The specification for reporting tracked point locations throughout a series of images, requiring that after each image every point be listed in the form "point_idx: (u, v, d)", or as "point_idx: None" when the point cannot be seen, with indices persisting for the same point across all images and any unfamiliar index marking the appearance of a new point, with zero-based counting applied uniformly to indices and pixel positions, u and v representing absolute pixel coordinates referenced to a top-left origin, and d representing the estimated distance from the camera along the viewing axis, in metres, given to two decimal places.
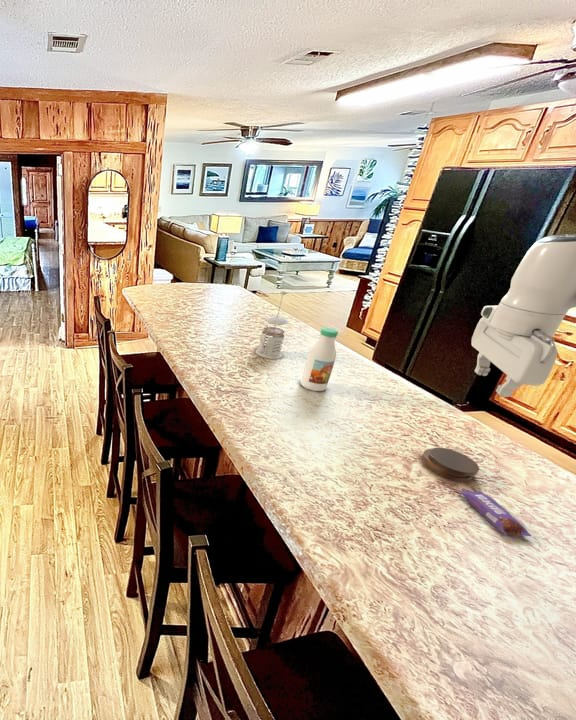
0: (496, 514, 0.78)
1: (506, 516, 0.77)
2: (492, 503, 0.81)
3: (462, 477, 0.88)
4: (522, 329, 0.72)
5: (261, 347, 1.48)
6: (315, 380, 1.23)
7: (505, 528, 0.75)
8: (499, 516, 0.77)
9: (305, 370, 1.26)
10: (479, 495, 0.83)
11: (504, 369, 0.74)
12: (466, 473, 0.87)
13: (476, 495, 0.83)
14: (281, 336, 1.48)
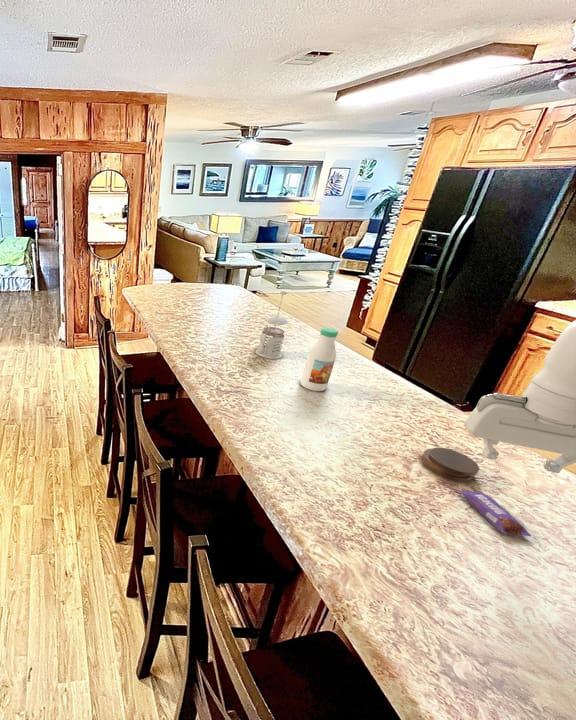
0: (496, 514, 0.78)
1: (506, 516, 0.77)
2: (492, 503, 0.81)
3: (462, 477, 0.88)
4: (522, 395, 0.72)
5: (261, 347, 1.48)
6: (315, 380, 1.23)
7: (505, 528, 0.75)
8: (499, 516, 0.77)
9: (305, 370, 1.26)
10: (479, 495, 0.83)
11: None
12: (466, 473, 0.87)
13: (476, 495, 0.83)
14: (281, 336, 1.48)
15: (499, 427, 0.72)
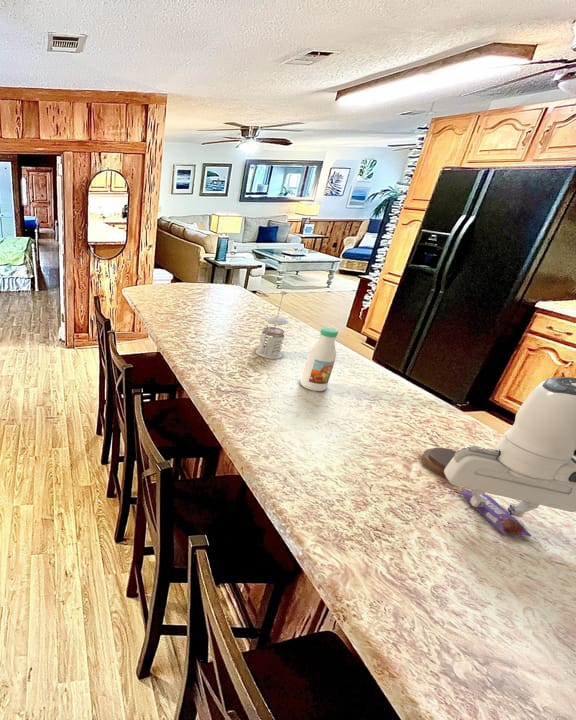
0: (496, 514, 0.78)
1: (506, 516, 0.77)
2: (492, 503, 0.81)
3: None
4: (496, 448, 0.76)
5: (261, 347, 1.48)
6: (315, 380, 1.23)
7: (505, 528, 0.75)
8: (499, 516, 0.77)
9: (305, 370, 1.26)
10: None
11: None
12: None
13: None
14: (281, 336, 1.48)
15: (474, 478, 0.77)
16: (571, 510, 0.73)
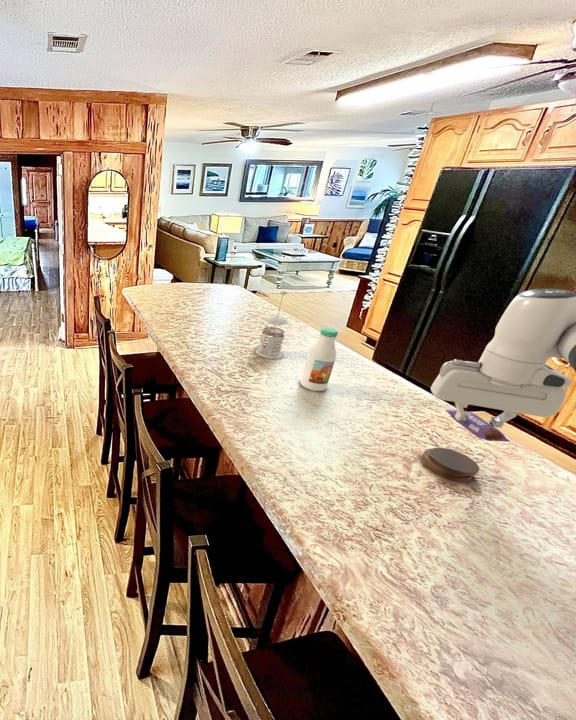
0: (478, 425, 0.84)
1: (487, 426, 0.83)
2: (475, 417, 0.86)
3: (462, 477, 0.88)
4: (478, 362, 0.82)
5: (261, 347, 1.48)
6: (315, 380, 1.23)
7: (486, 435, 0.81)
8: (481, 426, 0.83)
9: (305, 370, 1.26)
10: None
11: None
12: (466, 473, 0.87)
13: None
14: (281, 336, 1.48)
15: (458, 390, 0.83)
16: (546, 415, 0.79)
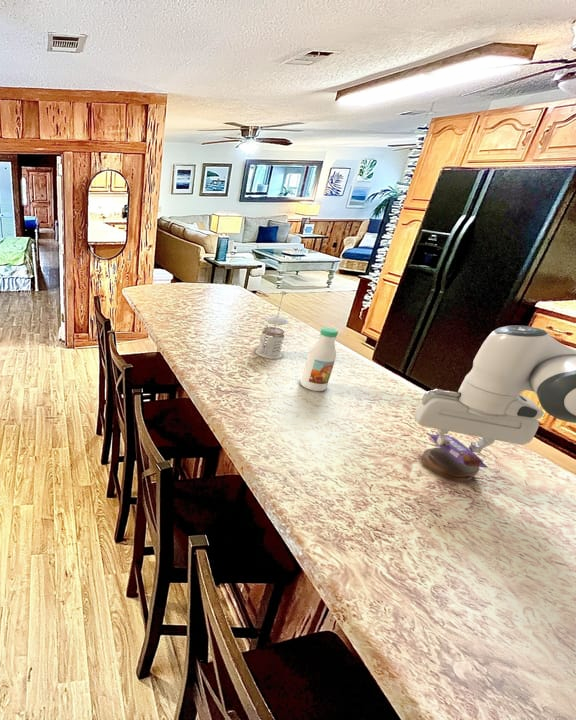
0: (458, 450, 0.89)
1: (467, 452, 0.88)
2: (456, 442, 0.91)
3: (462, 477, 0.88)
4: (458, 391, 0.87)
5: (261, 347, 1.48)
6: (315, 380, 1.23)
7: (465, 461, 0.86)
8: (461, 452, 0.88)
9: (305, 370, 1.26)
10: None
11: None
12: (466, 473, 0.87)
13: None
14: (281, 336, 1.48)
15: (439, 417, 0.87)
16: (521, 443, 0.83)
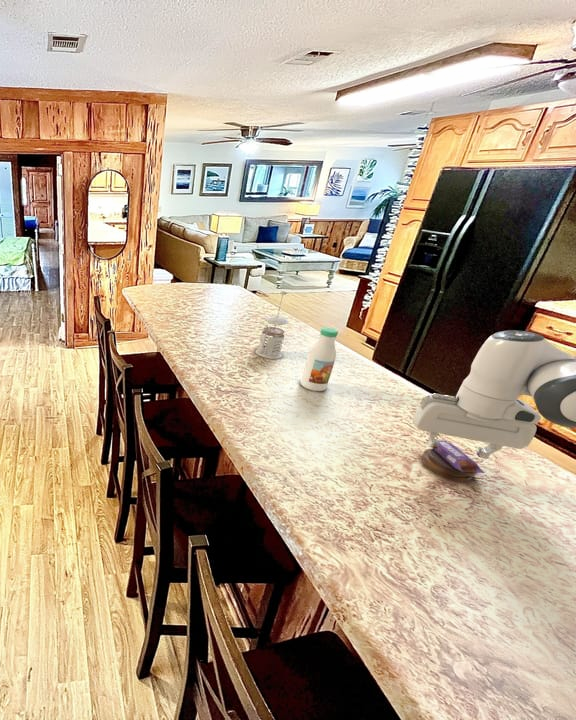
0: (455, 456, 0.89)
1: (464, 458, 0.89)
2: (453, 448, 0.92)
3: (462, 477, 0.88)
4: (456, 395, 0.87)
5: (261, 347, 1.48)
6: (315, 380, 1.23)
7: (462, 467, 0.87)
8: (458, 457, 0.89)
9: (305, 370, 1.26)
10: (442, 442, 0.94)
11: None
12: (466, 473, 0.87)
13: (440, 442, 0.94)
14: (281, 336, 1.48)
15: (437, 422, 0.88)
16: (519, 447, 0.84)
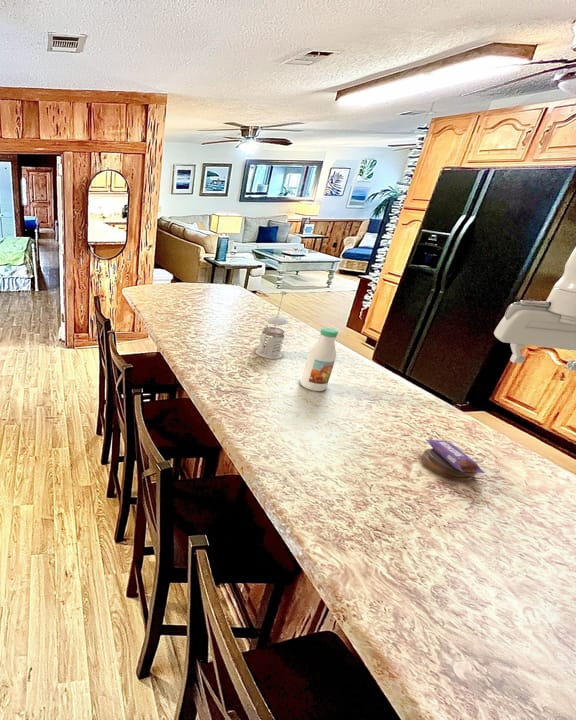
0: (455, 456, 0.89)
1: (464, 458, 0.89)
2: (453, 448, 0.92)
3: (462, 477, 0.88)
4: (545, 302, 0.81)
5: (261, 347, 1.48)
6: (315, 380, 1.23)
7: (462, 467, 0.87)
8: (458, 457, 0.89)
9: (305, 370, 1.26)
10: (442, 442, 0.94)
11: None
12: (466, 473, 0.87)
13: (440, 442, 0.94)
14: (281, 336, 1.48)
15: (525, 331, 0.81)
16: None
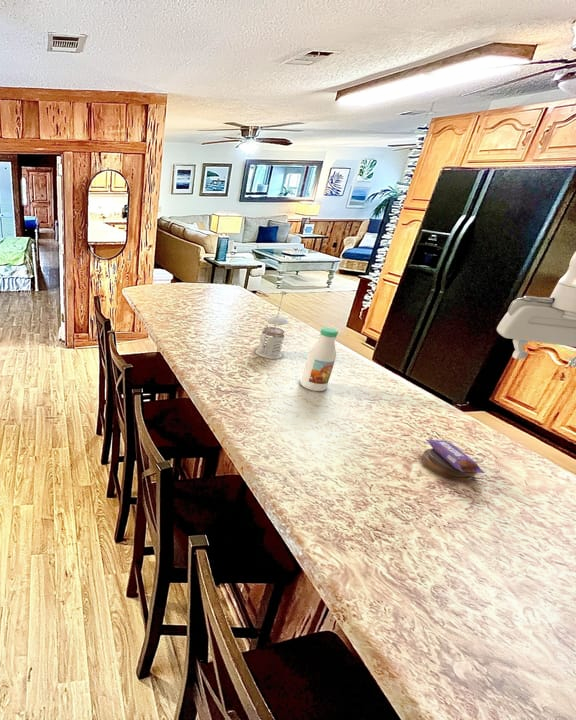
0: (455, 456, 0.89)
1: (464, 458, 0.89)
2: (453, 448, 0.92)
3: (462, 477, 0.88)
4: (549, 298, 0.81)
5: (261, 347, 1.48)
6: (315, 380, 1.23)
7: (462, 467, 0.87)
8: (458, 457, 0.89)
9: (305, 370, 1.26)
10: (442, 442, 0.94)
11: None
12: (466, 473, 0.87)
13: (440, 442, 0.94)
14: (281, 336, 1.48)
15: (528, 327, 0.81)
16: None
